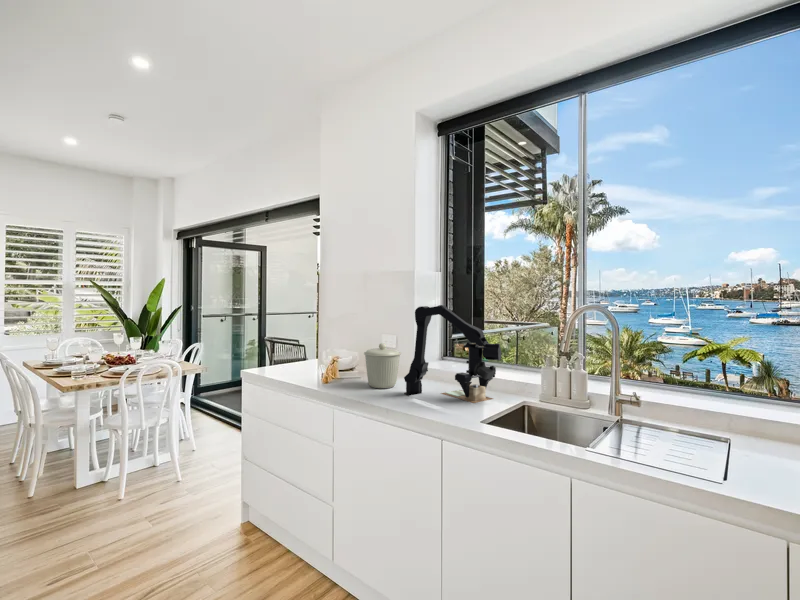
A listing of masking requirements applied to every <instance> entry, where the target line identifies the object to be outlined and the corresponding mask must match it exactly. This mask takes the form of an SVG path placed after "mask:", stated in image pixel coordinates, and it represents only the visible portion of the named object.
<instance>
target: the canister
mask: <svg viewBox="0 0 800 600" xmlns="http://www.w3.org/2000/svg"><path fill="white" fill-rule="evenodd" d="M401 354H402V352H401V351H399V350H397V349H395V348H387V345H386V343H383V342H381V343H379V344H378V348H370V349H367V350H366V351H364V352H363V355H364V356H365V357H364V358H365V366H366V367H365V368H366V376H367V382H368V385H369V386H370V387H371V388H375V389H390V388H393V387H394V386H395V385H396V384H397V380H398V373H399V365H400V355H401Z"/></svg>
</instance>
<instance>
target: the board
mask: <svg viewBox="0 0 800 600" xmlns="http://www.w3.org/2000/svg"><path fill="white" fill-rule="evenodd" d="M440 394H441V395H443V396H444V395H445V396H447V397H451V398H454V399H459V400H462V401H466V402H468V403H472V404H478V403H482V402H485V401H490V400H494V398H492V397H489V396H487V395H486V396H485V399H482V400H477V401H474V400H470V399H467V398H465V393H464V391H463V389H457V390H452V391H447V392H446V391H445V392H441V393H440Z"/></svg>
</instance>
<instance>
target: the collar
mask: <svg viewBox="0 0 800 600" xmlns="http://www.w3.org/2000/svg"><path fill="white" fill-rule="evenodd" d="M472 385H478V387H477V388H474V387H472ZM486 390H487V387H484V386H480V384H470V387H469V397H468V398H467V397H466V396H465V398H467V399H470V400H474V401H477V400H482V399H485V396H486V397H487V395H486V393H487V392H486Z"/></svg>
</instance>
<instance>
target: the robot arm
mask: <svg viewBox="0 0 800 600" xmlns="http://www.w3.org/2000/svg"><path fill="white" fill-rule="evenodd" d="M437 315H439V316H441V317H443V318H444V319H445V320H446V321H448V322H449V323H450V324H451V325H453V326H454V327H455V328H456V329H458V330H459V331H460V332H461V333H462V335H463V336H464V337H465V338H466V339H467V342H466V344H464V345H463V348H465V349H466V348H467V349H468V360H466V361H465V362H466V364H468V365H467V366H468V368H467V370H465V371H466V372H458V373H455V375H454V380H455V381H457V383H459V385H460V387H461V388H462V389H461V390H463V391H464V393H465V396H466V397H467V398H468V397H469V387H470V385H472V379H475V378H478V382H479V383H478V385H480V386H484V387H486V388H487V386H488V385H489V383H490V382H491V381H492V380H493V379H494V378H496V372H497V370H496V369H497V368H496V366H494V365H490V366H486V362H485V361H484V360H483V359H484V358H485V360H487V361H488V360H489V361H501V359H502V349H501V344H500V343H489V341H488V340H487V338H486V337H485V334H484V331H483V329H481V328H480V327H477V326H474V325H473V324H470V323H469V322H466V321H465V320H464V319H462V318H461V317H460V316H458V315H457V314H456V313H455V312H453V311H452V310H451V309H449V308H448V307H447V306H446V305H444V304H439V305H437V306H426V305H425V306H418V307H417V308H416V309H415V310H414V321H415V324H416V335H415V336H416V337H415V344H414V345H415V346H414V354H413V355H414V357H413V359H412V361H411V364H410V367H409V370H408V371H409V372H408V373H407V374H405V376H404V377H403V380H404V382H405V392H403V394H404V395H406V396H414V395H421V394H422V393H423V392H422V391H423V384H422V380H423V377H424V376H425V375H427V372H429V369H428V367H429V362H427V361H426V359H425V357H426V356H425V355H426V344H427V334H428V327H429V324H430V322H431V319H432V317H433V316H437Z"/></svg>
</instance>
